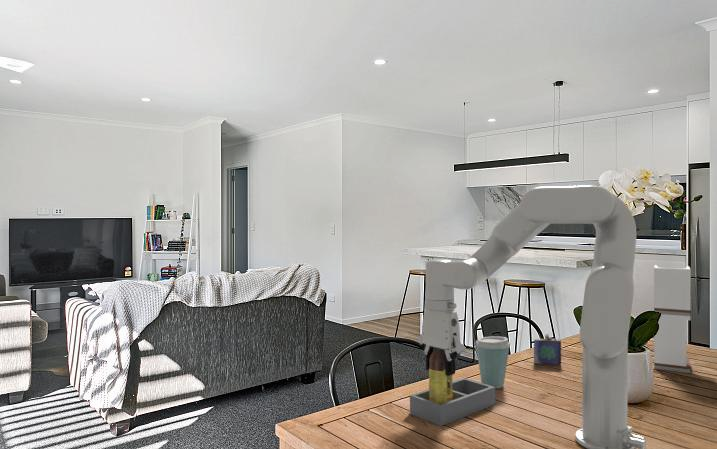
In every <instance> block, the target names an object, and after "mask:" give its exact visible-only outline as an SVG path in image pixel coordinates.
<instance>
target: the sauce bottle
mask: <svg viewBox="0 0 717 449" xmlns="http://www.w3.org/2000/svg"><path fill="white" fill-rule="evenodd" d="M433 349H434V350H433V352H432V354H431V356H430V359H429V370H428V389H429V400H430V401H432V402H435V403H437V404H440V405H441V404H444V403H446V402H449V401H452V400H453V388H452V385H453V384H452V382H453V375H450V376H446V371H445V362H446V361H447V357H446V354H445V350H443V349H439V348H435V347H433Z"/></svg>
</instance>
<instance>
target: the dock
mask: <svg viewBox="0 0 717 449" xmlns="http://www.w3.org/2000/svg"><path fill="white" fill-rule="evenodd" d="M452 384H453V385H452V388H453V400H452V401H449V402H446V403H444V404H441V405H440V404H437V403H435V402H432V401H430V400H429V388H428V389H426V390H425V389H424V390H422V391H419V392H416V393H412V394H410V395H409V414H410V415H412V416H414V417H417V418H419V419H422V420H424V421H427V422H430V423H431V424H434V425H437V426H439V427H442V426H445V425H447V424H449V423H452V422H455V421H458V420H460V419H462V418H465V417H467V416H470V415H473V414H475V413H477V412H480V411H482V410H485V409H488V408H490V407H493V406H495V405H496V388H495V387H493V386H490V385H486V384H483V383H482V382H480V381H476V380H473V379H469V378H465V377H463V378H459V379H457V380H452Z"/></svg>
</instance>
